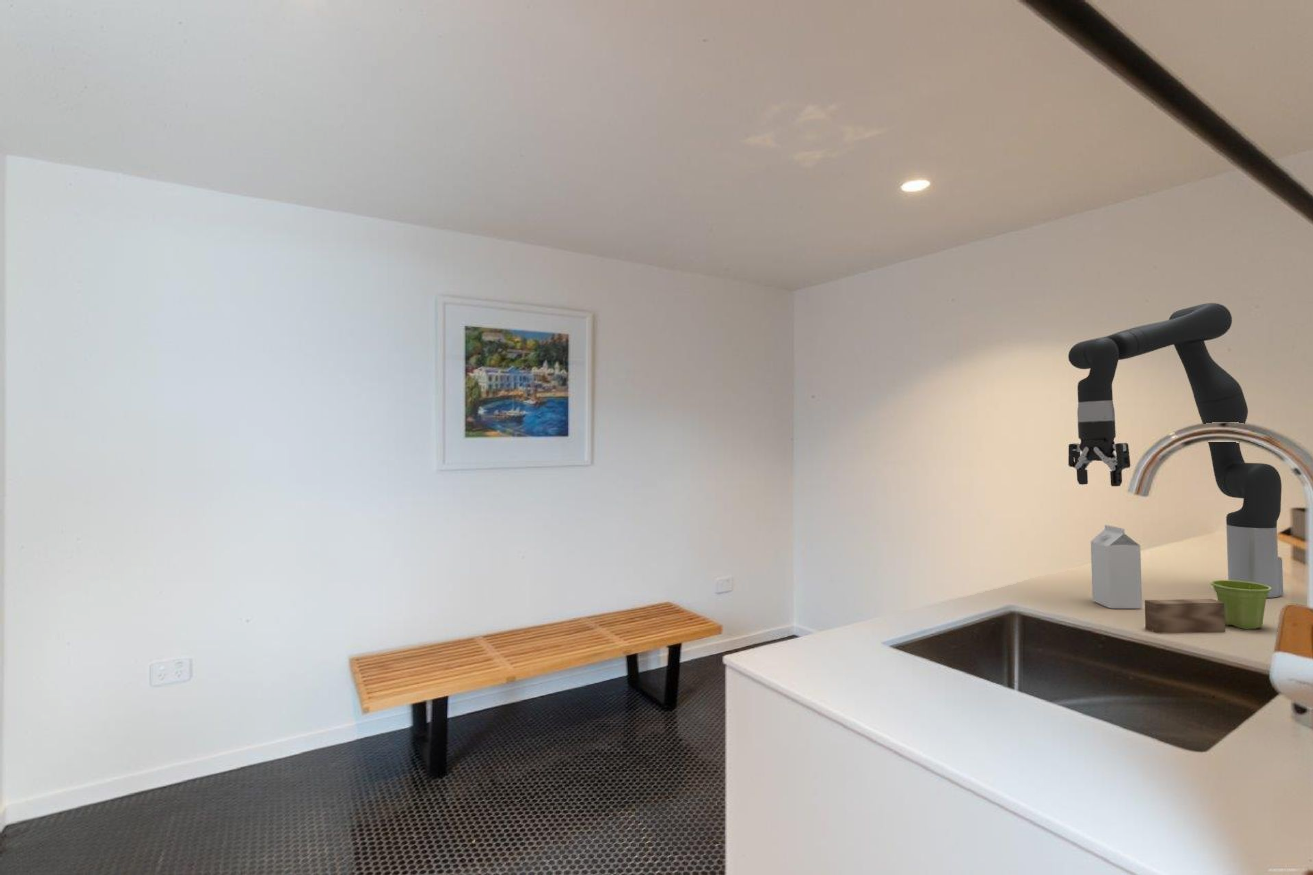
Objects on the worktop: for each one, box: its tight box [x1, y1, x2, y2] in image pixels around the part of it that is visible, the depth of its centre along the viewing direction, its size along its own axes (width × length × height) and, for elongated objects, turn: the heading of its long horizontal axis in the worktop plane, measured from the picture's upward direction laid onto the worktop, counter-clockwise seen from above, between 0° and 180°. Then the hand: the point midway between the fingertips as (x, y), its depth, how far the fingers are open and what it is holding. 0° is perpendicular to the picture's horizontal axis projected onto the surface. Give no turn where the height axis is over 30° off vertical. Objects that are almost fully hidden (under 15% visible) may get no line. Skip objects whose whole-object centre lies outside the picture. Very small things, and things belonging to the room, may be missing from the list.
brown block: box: [1144, 598, 1226, 633], centre depth 128 cm, size 14×3×6 cm, turn 89°
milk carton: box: [1090, 524, 1143, 609], centre depth 148 cm, size 7×7×19 cm
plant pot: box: [1210, 579, 1271, 630], centre depth 130 cm, size 9×9×9 cm
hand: (1099, 485), depth 151 cm, fingers open, 8 cm apart
